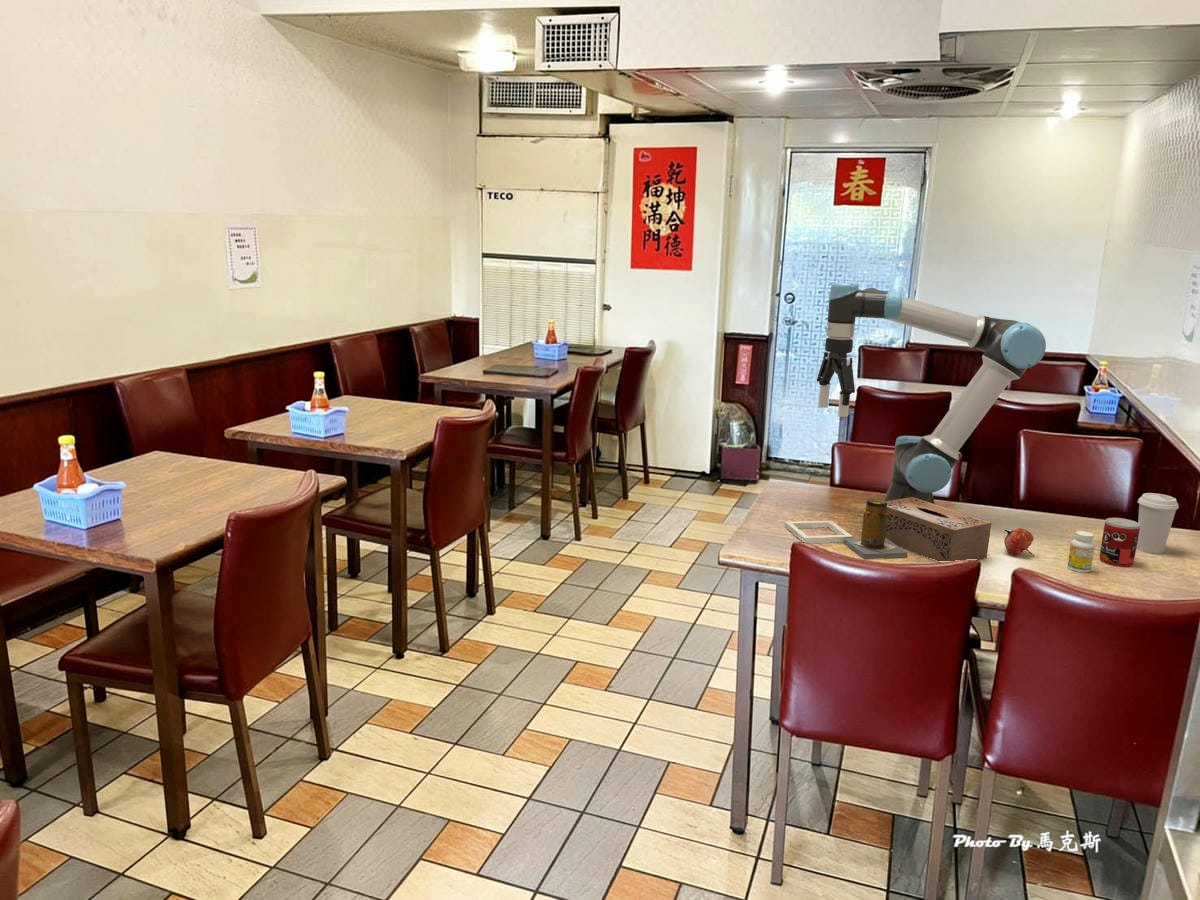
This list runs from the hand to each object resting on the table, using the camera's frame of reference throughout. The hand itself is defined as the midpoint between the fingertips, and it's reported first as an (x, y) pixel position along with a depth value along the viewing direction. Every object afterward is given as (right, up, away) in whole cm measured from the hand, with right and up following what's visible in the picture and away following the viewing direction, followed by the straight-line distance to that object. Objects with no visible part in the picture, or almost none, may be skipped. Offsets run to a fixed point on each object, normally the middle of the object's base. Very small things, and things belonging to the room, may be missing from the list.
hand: (832, 412), depth 260 cm
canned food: (+69, -40, -23) cm, 83 cm away
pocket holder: (-6, -34, -8) cm, 36 cm away
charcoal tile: (+6, -38, -20) cm, 43 cm away
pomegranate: (+44, -39, -19) cm, 62 cm away
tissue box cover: (+22, -38, -16) cm, 46 cm away
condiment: (+6, -36, -20) cm, 42 cm away
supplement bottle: (+55, -42, -29) cm, 75 cm away
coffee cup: (+84, -38, -12) cm, 93 cm away
